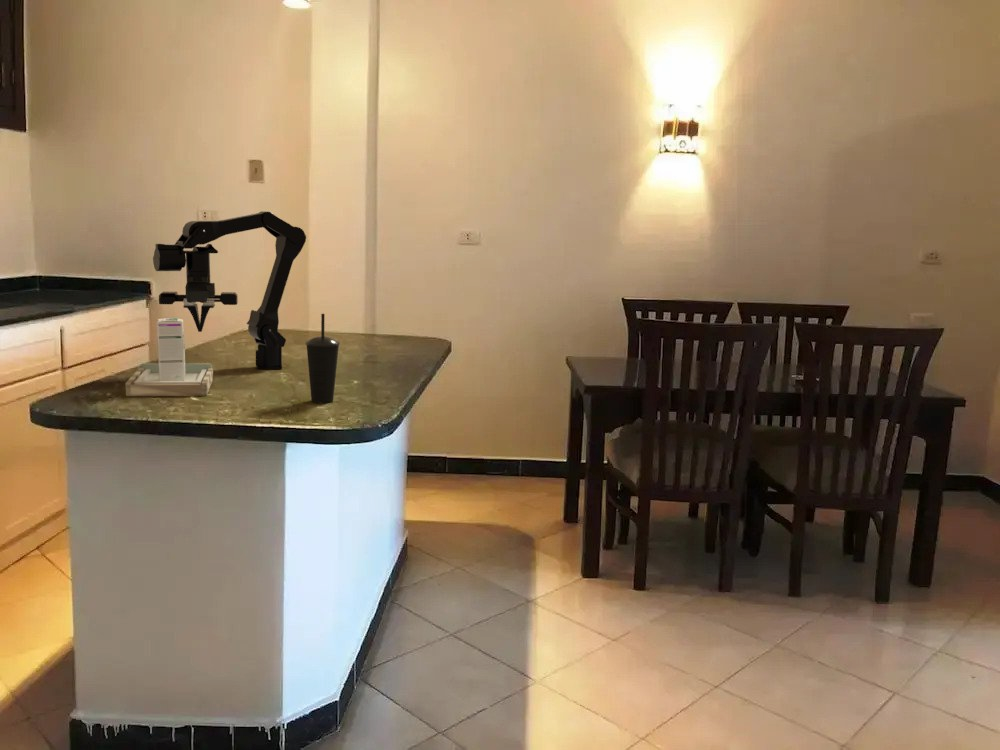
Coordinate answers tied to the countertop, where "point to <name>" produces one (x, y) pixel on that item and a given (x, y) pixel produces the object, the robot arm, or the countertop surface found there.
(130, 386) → the dock
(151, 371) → the tray
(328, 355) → the drinking cup
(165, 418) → the countertop surface
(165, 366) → the syrup box
